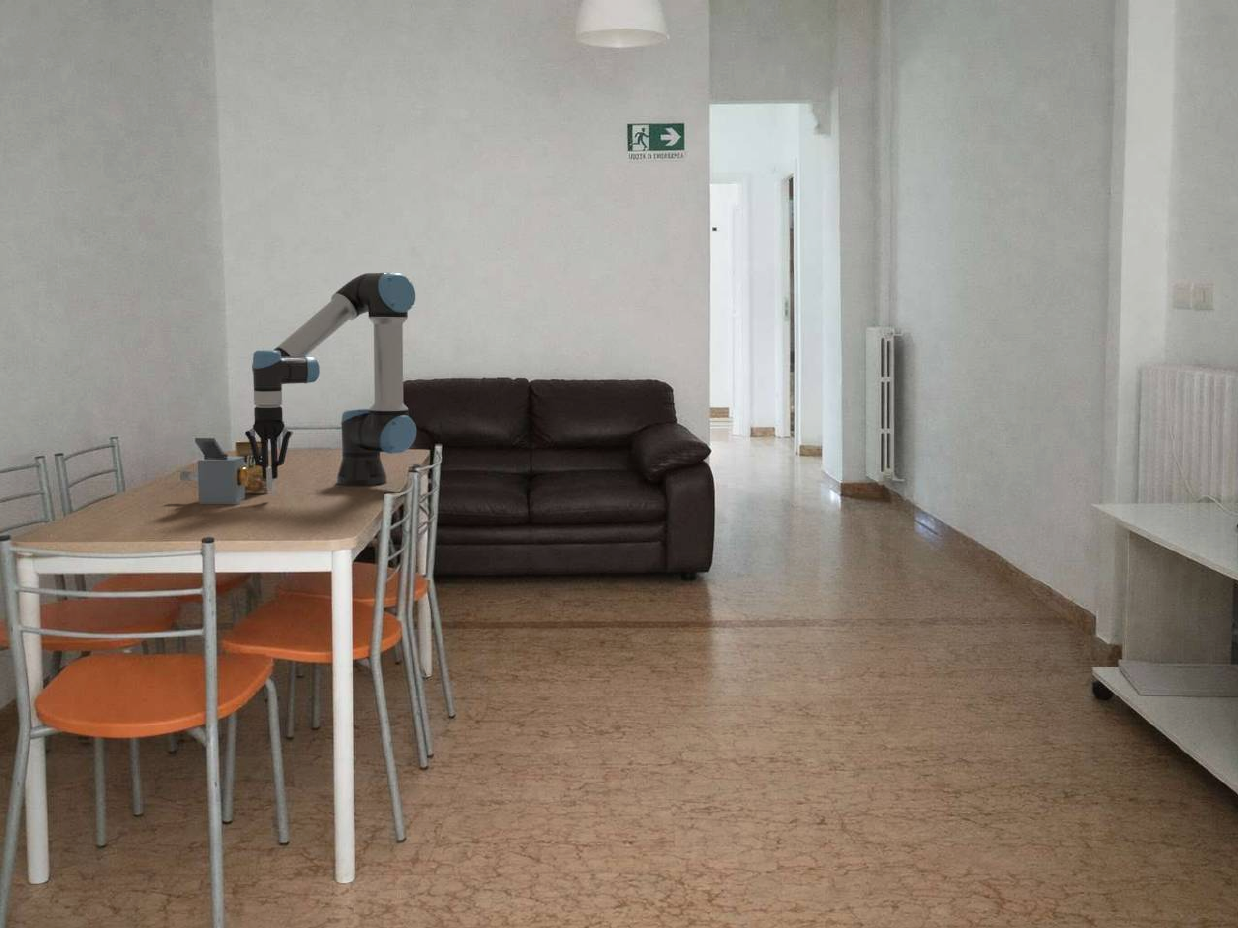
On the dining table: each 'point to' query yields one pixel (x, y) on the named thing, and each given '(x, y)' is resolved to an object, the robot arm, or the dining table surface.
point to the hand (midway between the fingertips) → (270, 490)
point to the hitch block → (220, 481)
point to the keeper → (210, 449)
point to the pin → (241, 476)
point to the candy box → (252, 467)
